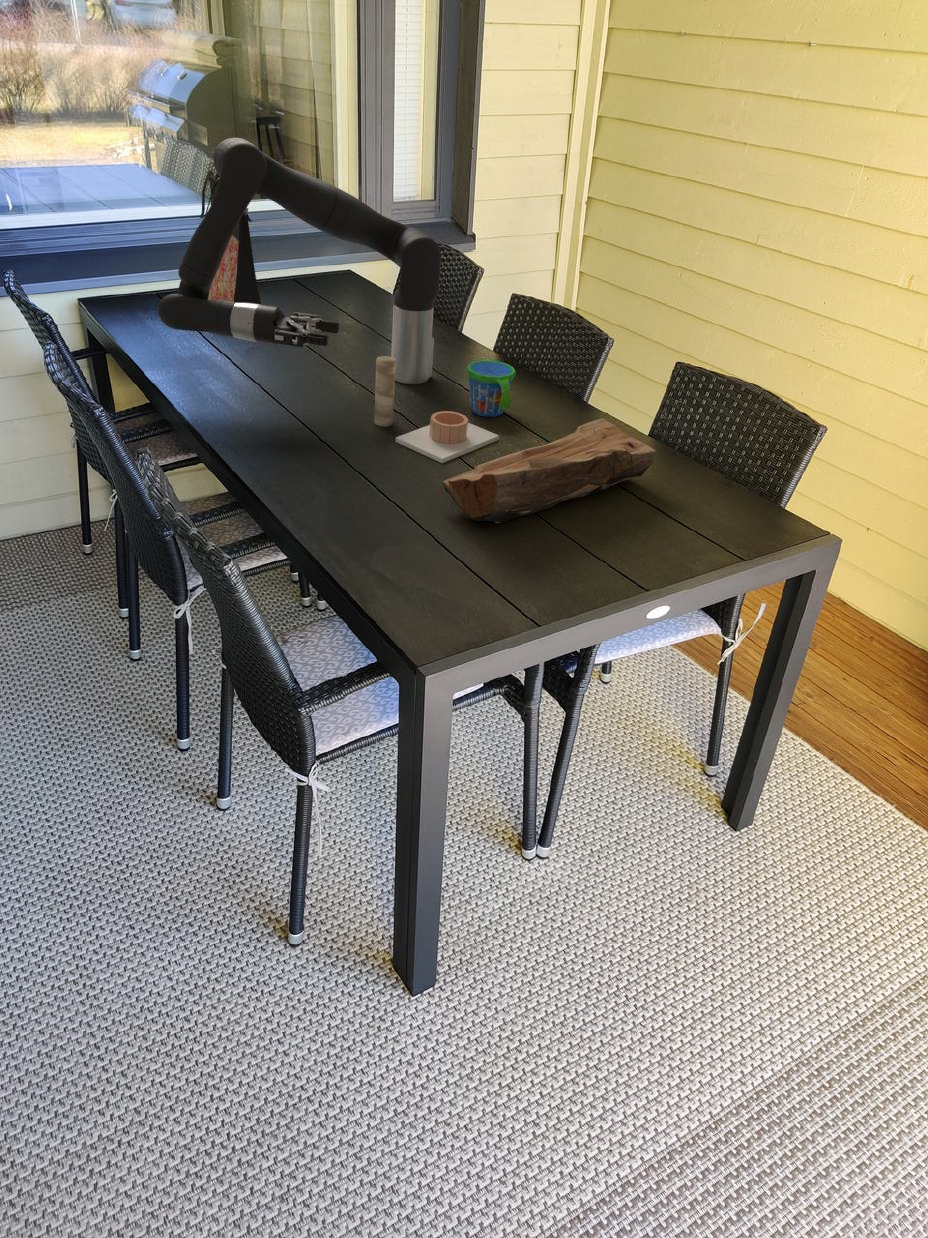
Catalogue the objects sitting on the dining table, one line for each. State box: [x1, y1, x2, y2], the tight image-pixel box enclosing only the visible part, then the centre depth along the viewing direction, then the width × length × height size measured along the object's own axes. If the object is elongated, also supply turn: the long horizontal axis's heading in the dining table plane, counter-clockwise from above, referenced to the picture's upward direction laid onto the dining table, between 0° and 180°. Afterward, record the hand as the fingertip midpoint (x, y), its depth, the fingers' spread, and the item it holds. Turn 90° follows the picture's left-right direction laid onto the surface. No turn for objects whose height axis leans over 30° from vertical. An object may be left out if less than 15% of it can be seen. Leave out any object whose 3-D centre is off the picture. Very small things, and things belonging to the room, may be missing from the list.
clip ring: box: [429, 410, 469, 444], centre depth 204 cm, size 8×8×4 cm
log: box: [442, 418, 657, 524], centre depth 186 cm, size 42×18×15 cm, turn 128°
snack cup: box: [466, 359, 517, 418], centre depth 218 cm, size 16×10×10 cm
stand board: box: [395, 422, 500, 464], centre depth 206 cm, size 18×13×1 cm
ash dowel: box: [373, 355, 396, 428], centre depth 207 cm, size 4×4×14 cm
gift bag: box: [199, 170, 262, 305], centre depth 251 cm, size 29×14×35 cm, turn 27°
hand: (333, 334), depth 202 cm, fingers open, 8 cm apart
